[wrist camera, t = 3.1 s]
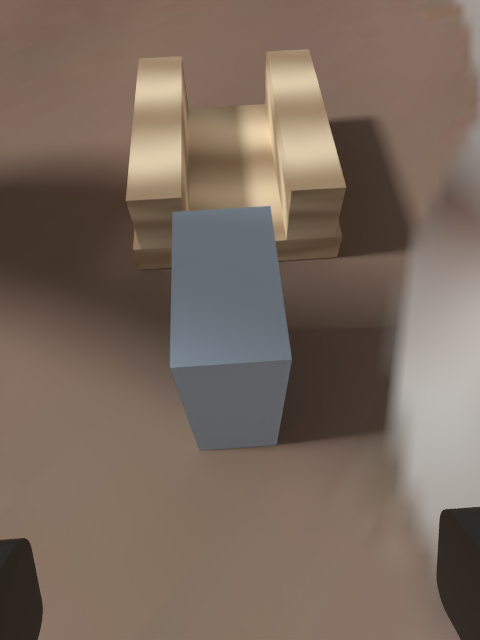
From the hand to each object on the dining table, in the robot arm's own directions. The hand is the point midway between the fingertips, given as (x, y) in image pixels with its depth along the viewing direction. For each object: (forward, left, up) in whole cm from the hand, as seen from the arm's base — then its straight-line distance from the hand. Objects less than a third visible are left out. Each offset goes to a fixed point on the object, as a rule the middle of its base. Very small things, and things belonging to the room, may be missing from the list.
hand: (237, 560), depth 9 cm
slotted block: (-18, +17, -13) cm, 28 cm away
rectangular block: (-7, +6, -13) cm, 16 cm away
